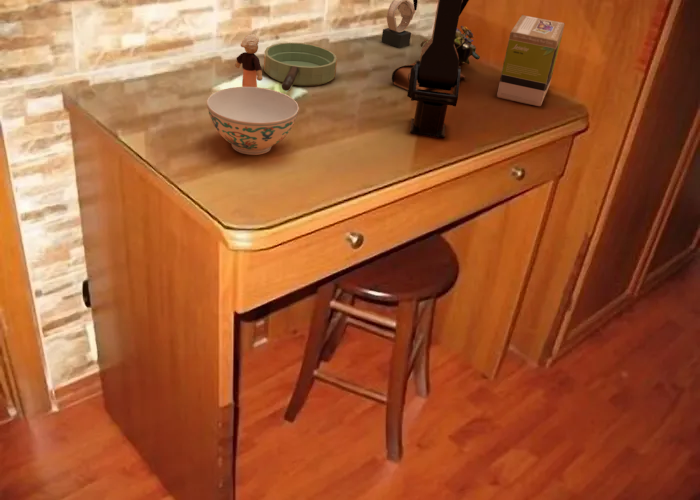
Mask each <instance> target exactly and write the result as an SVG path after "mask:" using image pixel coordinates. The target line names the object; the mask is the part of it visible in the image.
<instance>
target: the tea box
mask: <svg viewBox="0 0 700 500" xmlns="http://www.w3.org/2000/svg"><path fill="white" fill-rule="evenodd" d="M564 28H565V22H562V21H556V20H550V19H545V18H539V17H534V16H529V15H525V14H521V16H519V19H518V21H516V23H515V25H514V26H513V28H512V29H511V31H510V32H509V33H510V34H509V37H508V42H507V46H506V50H505V56H504V60H503V63H502V64H503V65H502V68H501V69H502V70H501V73H500V78H499V83H498V89H497V92H496V97H497V98H499V99H503V100H508V101H512V102H517V103H521V104H525V105H530V106H535V107H541V106H542V104H543V101H544V99H545V97H546V95H547V93H548V90H549V88H550V85H551V82H552V77H553V73H554V69H555V65H556V62H557V58H558V54H559V50H560V46H561V42H562V38H563V34H564Z"/></svg>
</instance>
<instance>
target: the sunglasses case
mask: <svg viewBox="0 0 700 500" xmlns="http://www.w3.org/2000/svg"><path fill="white" fill-rule="evenodd" d="M415 63H416V62H414V63H410V64H405V65H401V66H399V67H397V68H395V69H394V71H392V74H391V81H392V84H393V85H394V86H397V87H398V88H400V89H402V90H405V91H407V92H408V88H409V80H410V73H411V68H412V67H413V66H414V64H415ZM466 78H467V76H465V75H464V74H463V73H461V74H460V81H461V80H464V79H466ZM417 81H418V80H417ZM416 89H421V90H428V91H432V90H433V89H432V88H424V87H419V83H418V82H417V83H416Z"/></svg>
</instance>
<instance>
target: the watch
mask: <svg viewBox="0 0 700 500" xmlns="http://www.w3.org/2000/svg"><path fill="white" fill-rule="evenodd" d="M397 10H398V12H399V14H400V17H401V21H400V22H399V24H398V25H397V18H396V12H397ZM416 12H417V10H414V3H413V1H411V0H392V1H391V2H390V5H389V6H388V9H387V14H386V24H387V27H386V28H383V29H382V33H381V34H382V35H381V43H383V44H386V45H390V46H392V47H395V48H398V49H401V48H403V47H404V48H405V47H408V46H410V44H411V43H410V42H411V36H412V32H411V31H408V30H406V29H408V27H409V25H410V23H411V22H412V20H413V18H414V15H415V13H416Z"/></svg>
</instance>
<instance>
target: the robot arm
mask: <svg viewBox="0 0 700 500" xmlns="http://www.w3.org/2000/svg"><path fill="white" fill-rule="evenodd" d="M418 1H419V0H412V3H413V4H414V10H416V11H417V9H418V3H419V2H418ZM469 1H470V0H437V6H436V10H435V11H436V12H435V16H434V17H435V18H434V23H433V28H432V35H431V38H430V39H429V40H427V42H428V43H426V42H425V43H424V44H423V46H422V48H421V50H420V55H419V60H415V62H414V63H415V64H414V66H413V67H412V68H411V73H410V80H409V88H408V91H407V98H409V99H410V101H412V102H414V101H415V102H416V105H415V112H414V117H413V118H411V119H410V130H409V133H410V134H411V135H417V136H423V137H432V138H436V139H437V138H438V139H445V137H446V124H445V120H446V116H447V111H448V106H452V107H457V103H458V100H459V92H460V82H461V80H460V74H462V66H460V62H459V58H458V53H457V50H456V48H455V45H454V41H455V36H456V31H457V29H458V24H459V19H460V16H461V14H462V13H463V11H464V10H465V9H466V6H467V4H468V3H469ZM417 80H418V81H417ZM417 82H418V83H419V87H424V88H432V89H431V90H421V89H416V83H417ZM435 90H439V91H435ZM451 90H452V93H450V92H451ZM442 91H448V92H442Z"/></svg>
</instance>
